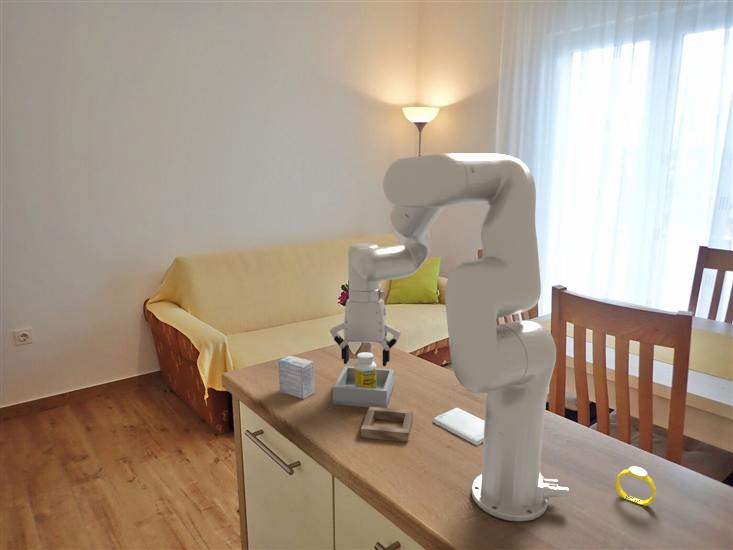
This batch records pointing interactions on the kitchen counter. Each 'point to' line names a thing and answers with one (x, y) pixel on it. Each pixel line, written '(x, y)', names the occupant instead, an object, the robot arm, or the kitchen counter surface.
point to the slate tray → (363, 389)
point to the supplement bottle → (365, 371)
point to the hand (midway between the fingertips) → (365, 363)
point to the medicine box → (296, 377)
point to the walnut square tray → (387, 432)
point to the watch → (638, 474)
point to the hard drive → (462, 425)
